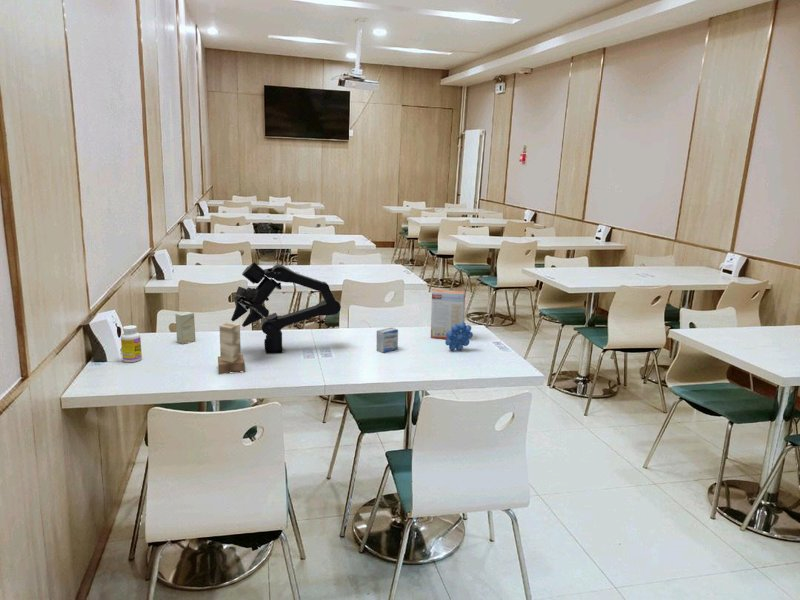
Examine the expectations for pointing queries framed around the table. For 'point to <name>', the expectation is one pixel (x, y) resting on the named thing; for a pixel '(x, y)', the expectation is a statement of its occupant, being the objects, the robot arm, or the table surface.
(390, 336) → the medicine box
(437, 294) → the cracker box
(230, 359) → the oak post
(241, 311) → the robot arm
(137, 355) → the supplement bottle
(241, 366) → the walnut block
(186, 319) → the skincare box
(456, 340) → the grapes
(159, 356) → the table surface
